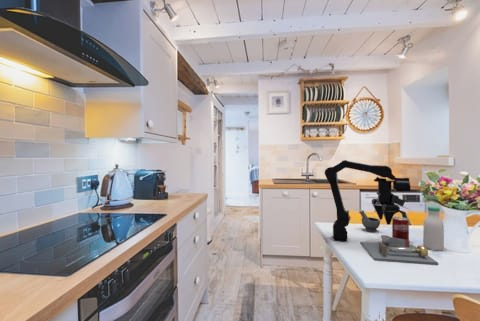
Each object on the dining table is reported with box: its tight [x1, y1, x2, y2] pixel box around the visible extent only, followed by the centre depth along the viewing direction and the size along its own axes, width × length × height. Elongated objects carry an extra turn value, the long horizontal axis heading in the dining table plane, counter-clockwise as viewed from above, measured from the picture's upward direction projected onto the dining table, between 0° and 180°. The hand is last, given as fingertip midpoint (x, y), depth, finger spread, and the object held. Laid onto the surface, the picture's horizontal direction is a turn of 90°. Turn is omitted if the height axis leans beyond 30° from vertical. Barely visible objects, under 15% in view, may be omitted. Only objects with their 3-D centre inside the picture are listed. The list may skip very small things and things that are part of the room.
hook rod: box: [386, 245, 429, 257], centre depth 104 cm, size 15×4×4 cm, turn 79°
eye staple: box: [378, 241, 386, 257], centre depth 106 cm, size 1×5×6 cm, turn 168°
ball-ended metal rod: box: [380, 234, 410, 247], centre depth 115 cm, size 12×4×4 cm, turn 51°
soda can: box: [391, 216, 410, 241], centre depth 125 cm, size 7×7×12 cm
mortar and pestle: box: [359, 210, 381, 233], centre depth 142 cm, size 11×9×12 cm
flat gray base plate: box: [359, 241, 439, 266], centre depth 109 cm, size 24×20×1 cm
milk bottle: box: [422, 205, 445, 252], centre depth 115 cm, size 8×8×20 cm
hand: (384, 221), depth 118 cm, fingers open, 9 cm apart
